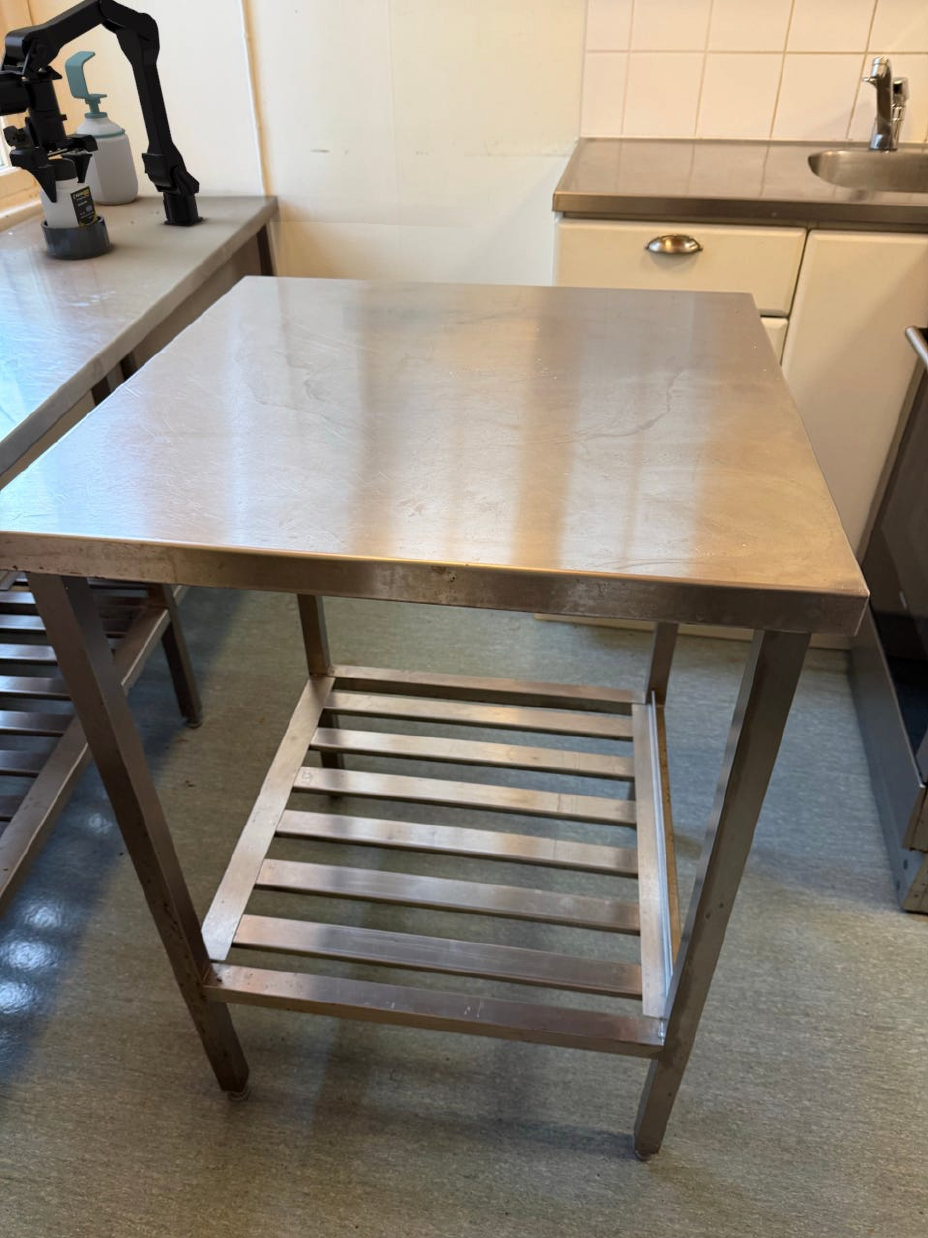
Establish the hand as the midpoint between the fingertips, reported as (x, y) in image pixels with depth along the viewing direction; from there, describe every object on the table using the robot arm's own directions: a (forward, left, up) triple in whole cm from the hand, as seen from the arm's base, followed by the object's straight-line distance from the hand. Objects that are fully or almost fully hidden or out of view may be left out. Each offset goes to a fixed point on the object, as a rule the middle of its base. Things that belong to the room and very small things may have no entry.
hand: (67, 197), depth 179 cm
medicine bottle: (0, 0, -5) cm, 5 cm away
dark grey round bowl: (0, 0, -10) cm, 10 cm away
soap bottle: (+22, -40, -10) cm, 46 cm away
